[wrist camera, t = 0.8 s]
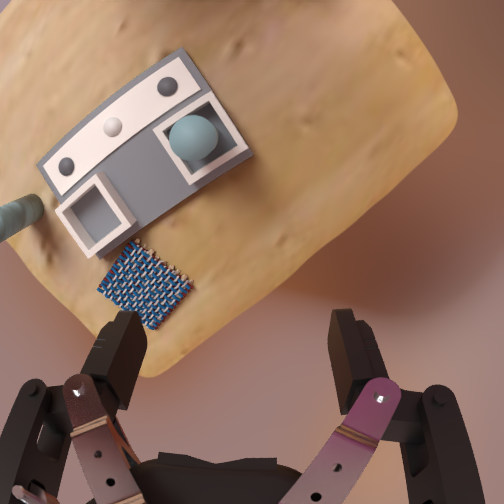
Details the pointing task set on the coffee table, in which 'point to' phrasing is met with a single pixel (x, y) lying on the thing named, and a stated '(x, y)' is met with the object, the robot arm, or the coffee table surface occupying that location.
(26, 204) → the teal peg
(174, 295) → the woven mat
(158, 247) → the coffee table surface
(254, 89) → the coffee table surface
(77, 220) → the peg board
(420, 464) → the robot arm
